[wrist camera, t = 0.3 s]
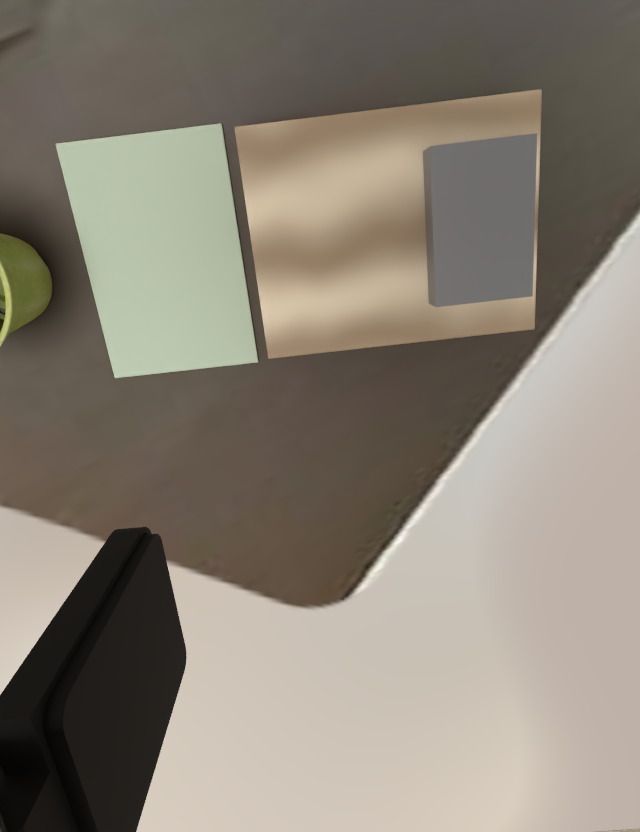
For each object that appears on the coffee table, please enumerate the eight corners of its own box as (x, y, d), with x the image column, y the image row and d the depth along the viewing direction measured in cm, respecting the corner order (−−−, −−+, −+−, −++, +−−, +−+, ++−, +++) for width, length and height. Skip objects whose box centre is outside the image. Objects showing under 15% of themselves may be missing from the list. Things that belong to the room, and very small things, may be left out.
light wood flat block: (243, 139, 34) (234, 127, 30) (515, 105, 33) (541, 89, 30) (272, 346, 39) (268, 358, 35) (512, 319, 38) (534, 329, 34)
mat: (57, 144, 34) (55, 143, 34) (221, 124, 34) (221, 123, 33) (116, 376, 39) (114, 378, 39) (258, 361, 39) (258, 362, 39)
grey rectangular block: (422, 151, 31) (430, 146, 29) (523, 139, 30) (537, 133, 29) (428, 303, 34) (435, 307, 32) (520, 292, 33) (532, 296, 32)
